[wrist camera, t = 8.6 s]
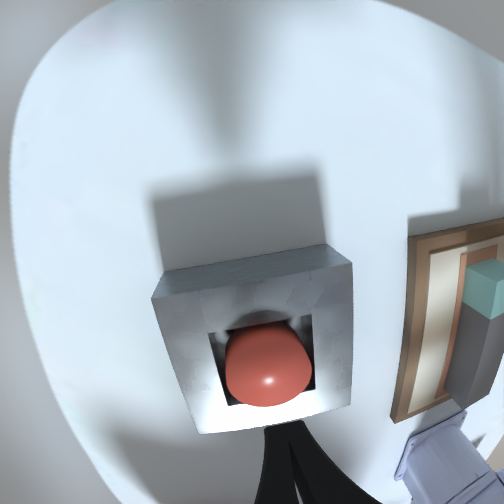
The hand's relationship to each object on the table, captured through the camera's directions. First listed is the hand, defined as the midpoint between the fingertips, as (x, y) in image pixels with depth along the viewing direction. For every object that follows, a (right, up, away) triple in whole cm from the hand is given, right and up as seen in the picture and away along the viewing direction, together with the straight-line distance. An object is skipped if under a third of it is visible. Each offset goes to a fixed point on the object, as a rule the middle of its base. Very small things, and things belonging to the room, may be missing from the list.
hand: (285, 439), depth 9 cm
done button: (-1, +2, +6) cm, 6 cm away
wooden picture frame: (+15, +1, +10) cm, 19 cm away
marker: (+16, +1, +9) cm, 18 cm away
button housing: (-1, +2, +8) cm, 8 cm away
